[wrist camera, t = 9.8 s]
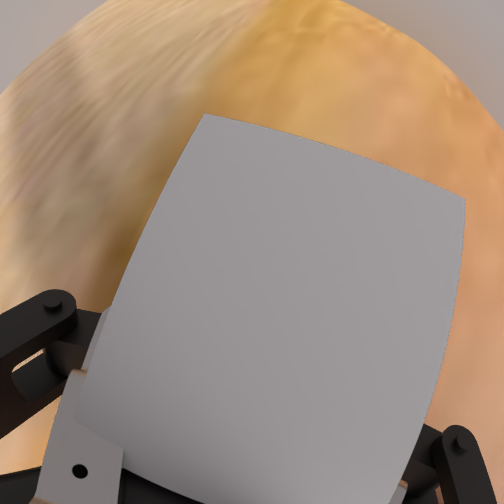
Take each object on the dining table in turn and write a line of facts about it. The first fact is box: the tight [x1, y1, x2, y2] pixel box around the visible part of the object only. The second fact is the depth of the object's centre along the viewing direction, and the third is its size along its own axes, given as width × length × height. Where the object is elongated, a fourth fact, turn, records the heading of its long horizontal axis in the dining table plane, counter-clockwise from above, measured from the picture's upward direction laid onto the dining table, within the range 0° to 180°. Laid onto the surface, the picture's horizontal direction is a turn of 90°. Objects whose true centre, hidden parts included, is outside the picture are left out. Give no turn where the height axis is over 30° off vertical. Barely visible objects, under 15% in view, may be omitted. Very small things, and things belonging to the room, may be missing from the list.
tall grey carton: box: [73, 113, 466, 504], centre depth 10 cm, size 5×6×12 cm
